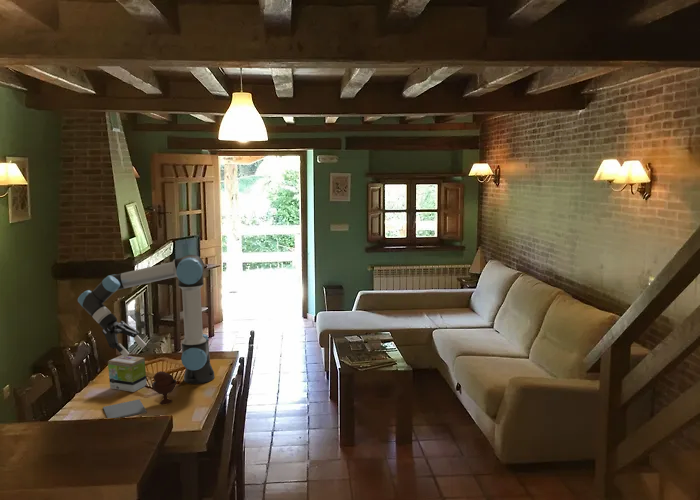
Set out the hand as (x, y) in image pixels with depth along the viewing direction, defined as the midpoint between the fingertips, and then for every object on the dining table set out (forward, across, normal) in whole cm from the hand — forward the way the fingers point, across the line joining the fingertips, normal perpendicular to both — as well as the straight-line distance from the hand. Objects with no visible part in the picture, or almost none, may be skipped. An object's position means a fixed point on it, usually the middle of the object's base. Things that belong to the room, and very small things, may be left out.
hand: (136, 351), depth 286 cm
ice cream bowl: (+26, +1, -7) cm, 27 cm away
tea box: (+6, -14, -28) cm, 32 cm away
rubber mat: (+17, +12, -17) cm, 27 cm away
